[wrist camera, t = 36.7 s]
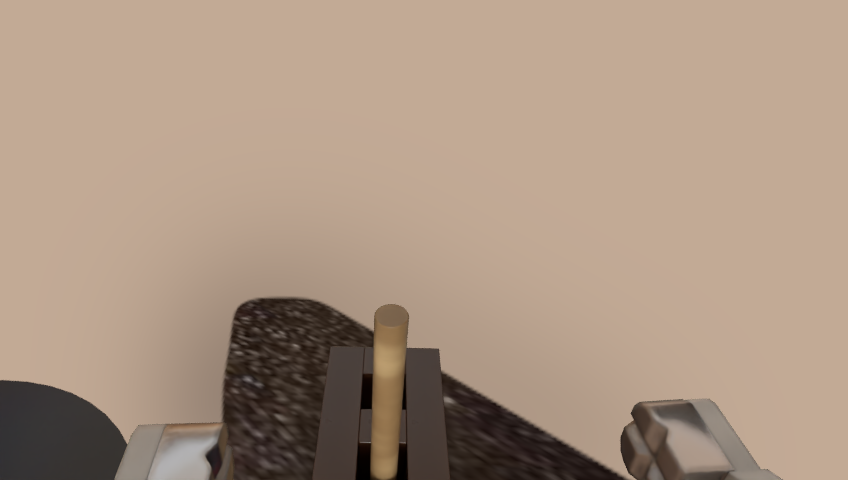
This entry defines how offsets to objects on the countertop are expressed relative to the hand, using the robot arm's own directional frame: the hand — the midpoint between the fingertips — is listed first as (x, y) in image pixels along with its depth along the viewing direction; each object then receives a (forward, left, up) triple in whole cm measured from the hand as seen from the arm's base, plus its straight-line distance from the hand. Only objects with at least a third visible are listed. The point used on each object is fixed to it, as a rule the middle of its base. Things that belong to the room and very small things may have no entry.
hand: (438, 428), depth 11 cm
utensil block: (-1, +15, -28) cm, 32 cm away
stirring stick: (-1, +12, -28) cm, 30 cm away
